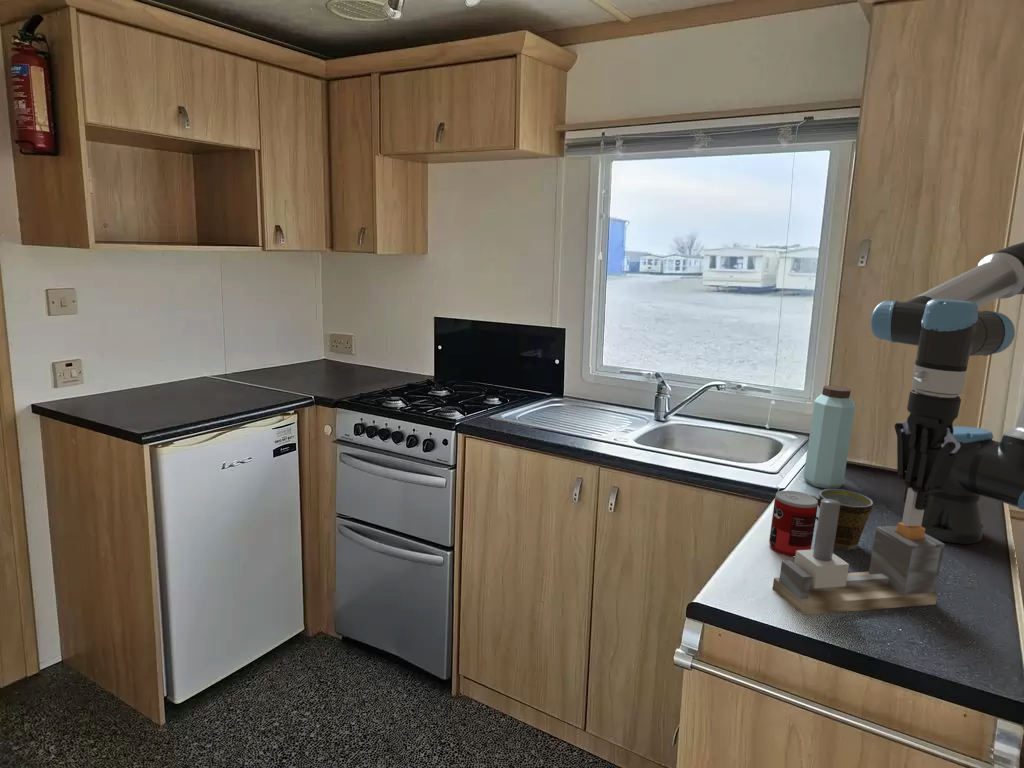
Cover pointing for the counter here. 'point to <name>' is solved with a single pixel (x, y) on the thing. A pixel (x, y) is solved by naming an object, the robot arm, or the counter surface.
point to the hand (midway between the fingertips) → (911, 524)
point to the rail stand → (872, 578)
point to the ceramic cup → (848, 516)
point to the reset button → (910, 531)
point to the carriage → (824, 551)
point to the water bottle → (829, 438)
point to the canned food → (793, 522)
